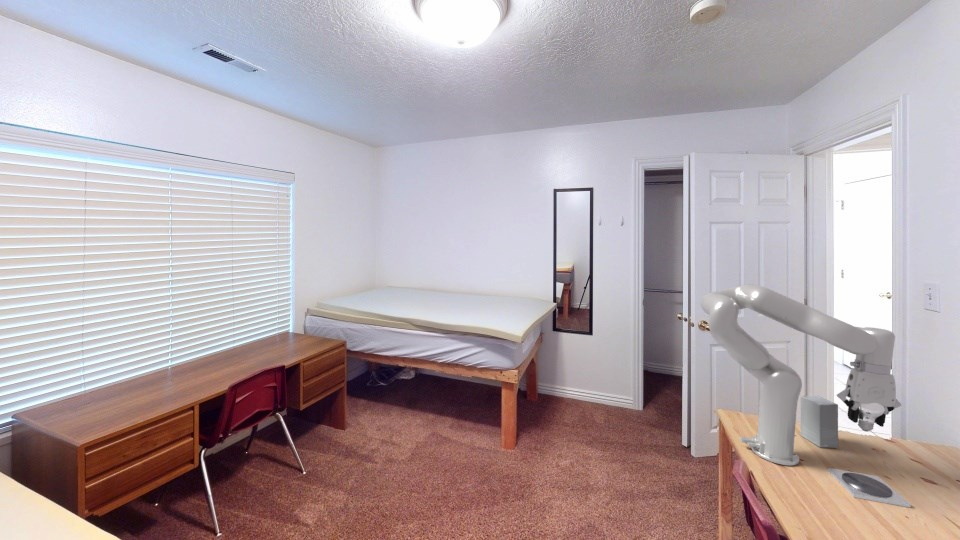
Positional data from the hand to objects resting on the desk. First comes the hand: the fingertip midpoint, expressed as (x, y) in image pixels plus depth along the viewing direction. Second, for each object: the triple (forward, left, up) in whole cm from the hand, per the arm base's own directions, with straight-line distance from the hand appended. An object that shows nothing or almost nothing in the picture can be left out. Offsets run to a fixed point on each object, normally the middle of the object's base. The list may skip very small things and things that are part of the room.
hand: (865, 421), depth 111 cm
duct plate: (-5, -12, -15) cm, 20 cm away
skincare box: (-5, +14, -15) cm, 21 cm away
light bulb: (0, 0, -3) cm, 3 cm away
